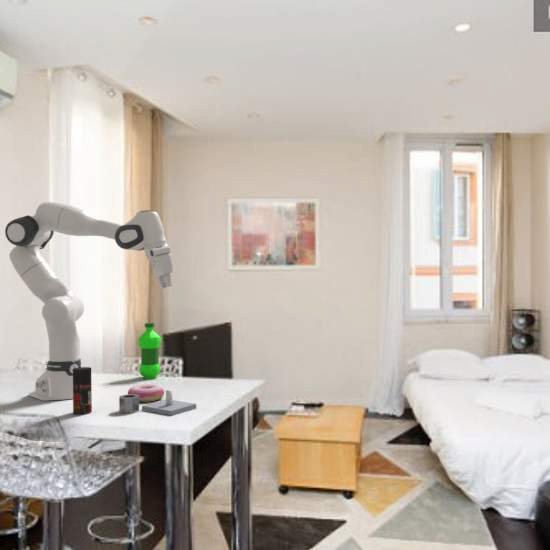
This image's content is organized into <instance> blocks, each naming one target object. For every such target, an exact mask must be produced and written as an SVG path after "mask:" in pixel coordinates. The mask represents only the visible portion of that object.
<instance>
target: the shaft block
mask: <svg viewBox="0 0 550 550" xmlns="http://www.w3.org/2000/svg"><path fill="white" fill-rule="evenodd" d="M194 409H197V403H193V402H187V401H182V400H181V401H180V400H173V389H166V390H165V399H163V400H158V401H154V402H153V403H148V404H144V405H141V410H142V411H144V410H146V411H145V412H149V411H151V412H150V413H155V412H157V413H156V414H160V413H162V414H161V415H166V414H167V416H175V415H177V414H181V412H182V413H185V412H188V411H191V410H194Z"/></svg>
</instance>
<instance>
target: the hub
mask: <svg viewBox="0 0 550 550" xmlns="http://www.w3.org/2000/svg"><path fill="white" fill-rule="evenodd" d="M118 398H119V399H118V400H119V402H118V403H119V405H118V406H119V408H118V409H119V413H120V412H121V414H133V413H134V412H135V413H138V412H140V402H139V395H135V394H129V395H128V394H123V395H119V397H118ZM137 411H138V412H137Z"/></svg>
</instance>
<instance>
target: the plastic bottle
mask: <svg viewBox="0 0 550 550" xmlns="http://www.w3.org/2000/svg"><path fill="white" fill-rule="evenodd" d="M144 327H145V331H144V332H142V334H141V335H140V336H138V340H137V342H138V346H139V348H140V351H141V352H140V354H141V355H140V359H141V360H140V361H141V362H140V366H139V367H138V371H139V373H140V375H141V376H142V377H143V378H144V379H146V380H147V379H150V378H152V379H156V378H157V377H158V376H159V375H160V374H161V365H160V363H159V348H160V346H161V345H162V338H161V336H160V335H159V334H158V333H157V332H155V331H154V328H155V322H145V323H144ZM155 377H156V378H155Z"/></svg>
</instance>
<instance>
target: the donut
mask: <svg viewBox="0 0 550 550" xmlns="http://www.w3.org/2000/svg"><path fill="white" fill-rule="evenodd" d="M129 394H135V395H139V403H150V402H149V401H151V402H156V401H160V400H161V399H163V397H164V395H165V389H164V388H163V387H162V386H161V385H157V384H150V383H148V384H146V383H145V384H138V385H134V386H131V387H130V388H129V389H128V390H127V395H129ZM155 400H156V401H155Z"/></svg>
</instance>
